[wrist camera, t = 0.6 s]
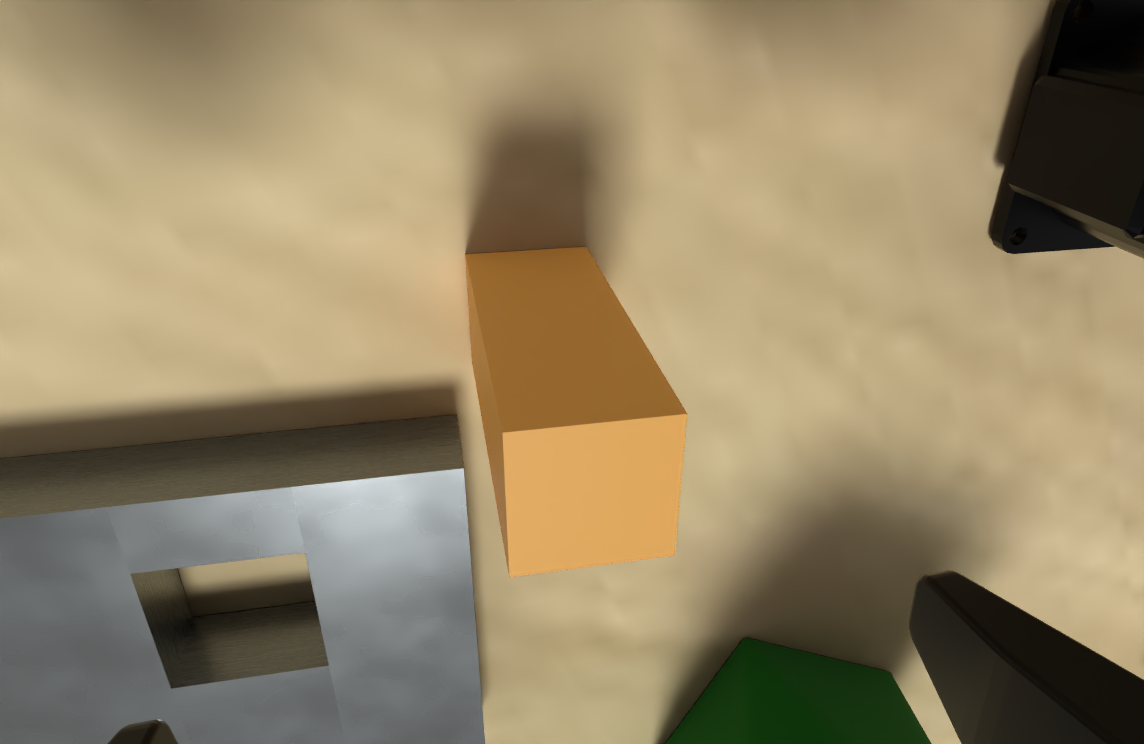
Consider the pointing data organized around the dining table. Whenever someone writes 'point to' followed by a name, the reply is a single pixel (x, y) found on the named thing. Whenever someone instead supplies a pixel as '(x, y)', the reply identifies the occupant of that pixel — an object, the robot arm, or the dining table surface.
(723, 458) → the dining table surface
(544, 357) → the tan rectangular box
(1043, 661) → the robot arm
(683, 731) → the milk carton
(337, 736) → the gray slab with hole
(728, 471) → the dining table surface
